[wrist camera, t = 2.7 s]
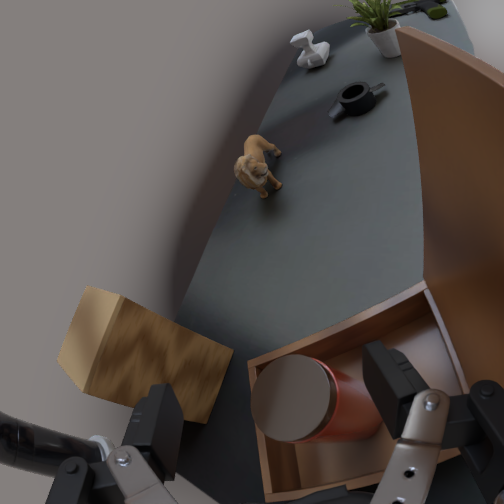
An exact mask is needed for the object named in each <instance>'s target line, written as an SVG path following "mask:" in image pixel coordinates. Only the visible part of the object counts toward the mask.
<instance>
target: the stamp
mask: <svg viewBox="0 0 504 504" xmlns="http://www.w3.org/2000/svg"><path fill="white" fill-rule="evenodd" d="M312 39H313V35H312V33H311V31H310V30H308V31H305V32H303V33H300V34H297V35H295V36H294V37H293V38H292V40H291V41H290V43H291V45H293V46H295V47H296V48H300V47H302V48H303V49H304V50H303V52H302V53H301V55H300V56H299V58H298V60H297V64H298V66H301V67H304V68H308V69H310V68H313V67H317V66H320V65H324V64H325V62H326V60H327V58H328V56H329V46H330V45H329V44H328V43H327V42H322V43H319V44H316V45H313V44H312V42H311V41H312Z"/></svg>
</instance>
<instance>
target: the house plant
mask: <svg viewBox="0 0 504 504" xmlns="http://www.w3.org/2000/svg"><path fill="white" fill-rule="evenodd" d="M349 1H351V2H352V3H353V6H354V8H355V10H356V11H357V12H356V13H359V14H361V15H362V16H363V17H348V19H354V20H360V21H364V22H367V23H369V24H370V25H369V26H368V25H366V24H363V23H354V24H352V25H351V26H356V25H365V26H368V27H367V28H366V33H367V34H368V36H369V37H370V38H371V40H372V41H373V42H374V44H375V45H376V46H377V48H378V49H379V50H380V52H381V53H382V54H383V56H384V57H387V58H393V57H396V56H399V55H401V52H400V48H399V44H398V40H397V36H396V33H395V29H396V28H400V26H399V22H398V21H397V20H396V19H388V18H389V16H392V15H395V14H401V13H399V12H392V13H390V14H389V12H390V11H391V10H392V9H395V8H401V7H400V6H398V5H396V6H394V7H392V8H391V9H390V11H389V6H390V2H391V0H388V2H386V0H383V3H381V4H380V1H381V0H365V1H366V2H367V3H368V5H369V6H370V7H368V6H367V5H366V4H365V3H364V2H363V4H362V3H360V2H359V1H358V0H349ZM374 1H375V2H374ZM386 3H387V5H386ZM401 9H402V8H401ZM402 10H403V9H402ZM383 11H384V13H383ZM364 17H365V18H364ZM370 17H371V18H370Z"/></svg>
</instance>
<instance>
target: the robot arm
mask: <svg viewBox="0 0 504 504" xmlns="http://www.w3.org/2000/svg"><path fill="white" fill-rule="evenodd" d="M362 374H363V380H364V384H365V386H366V388H367V390H368V392H369V394H370V396H371V398H372V400H373V402H374V404H375V406H376V408H377V410H378V411H379V413H380V415H381V417H382V419H383V421H384V423H385V425H386V427H387V429H388V431H389V433H390V435H391V437H392V439H393V440H395V439H398V438H400V439H398V441H397V443H396V445H395V448H394V450H393V453H392V455H391V458H390V460H389V463H388V465H387V467H386V470H385V472H384V474H383V477H382V479H381V481H380V483H379V485H378V488H377V490H376V492H375V494H373V493H369V492H362V491H348V490H347V487H346V484H344V485H341V486H337V487H333V488H329V489H325V490H320V491H316V492H313V493H311V494H309V495H306V496H304V497H302V498H299V499H297V500H294V501H292V502H289V503H286V504H424V503H425V501H426V498H427V495H428V492H429V489H430V486H431V482H432V479H433V476H434V473H435V469H436V466H437V462H438V458H439V455H440V451H441V450H445V449H451V448H458V449H459V451H460V453H461V455H462V457H463V458H464V460H465V462H466V464H467V466H468V468H469V469H470V471H471V473H472V475H473V477H474V479H475V481H476V483H477V485H478V487H479V489H480V491H481V493H482V494H483V496H484V498H485V500H486V502H487V504H504V389H503V388H502V387H501V386H500V385H499V384H498V383H497V382H495V381H492V380H480V381H478V382H476V383H474V384H473V385H472V387H471V388H470V391H469V393H468V394H462V395H456V396H448V395H447V394H446V393H445V392H444V391H441V390H439V389H431V388H430V387H429V386H428V384H427V383H426V382H425V380H424V379H423V378H422V377H421V375H420V374H419V373H418V371H417V370H416V369H415V368H414V366H413V365H412V364H411V362H409V360H408V358H407V357H406V356H405V355H404V353H402V352H400V351H398V350H397V349H395V348H392V349H389V350H387V349H386V347H385V346H384V344H383V343H382V342H381V341H380V340H378V341H374V342H371V343H367V344H364V345H362ZM183 423H184V416H183V411H182V408H181V406H180V404H179V402H178V399H177V397H176V395H175V393H174V390H173V388H172V386H171V384H170V383H163V384H153V385H151V387H150V390H149V393H148V396H147V397H142V398H141V399H140V400H139V401H138V403H137V404H136V405H135V407H134V410H133V413H132V416H131V418H130V422H129V424H128V427H127V430H126V433H125V436H124V439H123V441H122V445H121V446H120V447H117V448H115V449H114V450H112V451H111V452H110V454H109V455H108V457H107V459H106V454H105V451H104V448H103V446H102V445H101V444H100V443H99V442H97V441H93V440H87V439H83V438H79V437H75V436H71V435H68V434H64V433H61V432H57V431H54V430H50V429H47V428H44V427H41V426H38V425H35V424H32V423H28V422H26V421H23V420H20V419H17V418H14V417H11V416H9V415H7V414H5V413H3V412H1V411H0V463H1V464H3V465H6V466H10V467H13V468H17V469H20V470H24V471H28V472H32V473H35V474H40V475H44V476H48V477H52V478H55V479H54V482H53V484H52V487H51V489H50V492H49V495H48V498H47V500H46V503H45V504H178V503H177V502H176V500H175V499H174V498H173V497H172V495H171V494H170V493H169V491H168V490H167V489H166V488H165V487H164V481H174V478H175V472H176V466H177V459H178V453H179V447H180V441H181V435H182V429H183ZM240 504H272V503H257V502H250V503H240Z"/></svg>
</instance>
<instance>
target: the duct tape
mask: <svg viewBox="0 0 504 504" xmlns="http://www.w3.org/2000/svg"><path fill="white" fill-rule="evenodd" d="M383 86H385V84H384V83H380V84H378V85H376V86H374V87H372V88H370V87H369V85H368V84H367V83H365V82H355V83H352V84H349V85H347V86H346V87H344V88H343V89H342V90H341V91H340V92H339V93H338V95H337V99H336V100H335V102H334V103H333V105H332V106H331V108H330V109H329V111H328V114H329V115H330V116H331V118H333V117H334V116H336V115H337V114H339V113H340V112H342V111H345V112H346V114H348V115H350V116H358V115H362V114H364V113H367V112H368V111H370V110H371V109H372V108H373V107H374V106H375V104H376V98H375V97H374V95H373V93H372V92H373V91H376V90H378V89H380V88H382V87H383Z"/></svg>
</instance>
